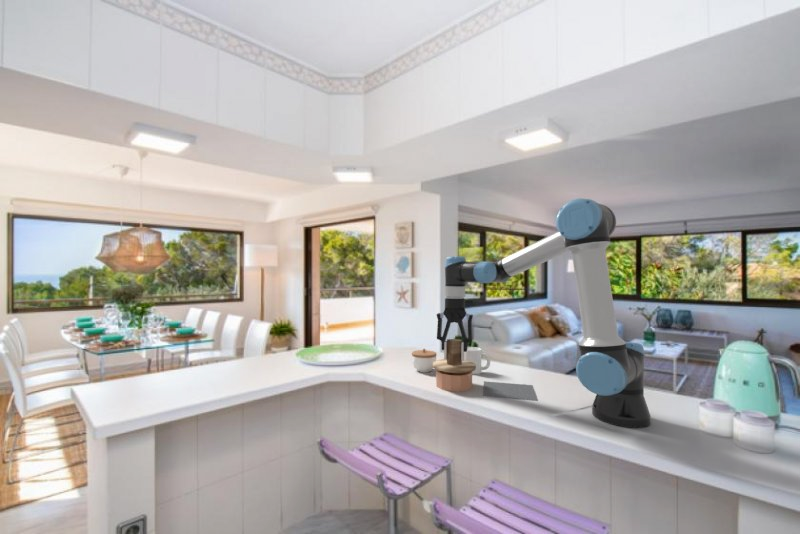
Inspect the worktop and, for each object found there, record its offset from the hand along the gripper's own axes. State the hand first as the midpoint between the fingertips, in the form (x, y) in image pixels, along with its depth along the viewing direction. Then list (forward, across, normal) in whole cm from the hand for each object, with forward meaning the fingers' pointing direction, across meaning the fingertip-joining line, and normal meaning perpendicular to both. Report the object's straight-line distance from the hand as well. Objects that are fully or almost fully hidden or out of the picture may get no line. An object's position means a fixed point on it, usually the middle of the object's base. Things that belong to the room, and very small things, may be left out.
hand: (454, 359), depth 141 cm
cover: (+3, 0, 0) cm, 3 cm away
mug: (+11, -6, -23) cm, 26 cm away
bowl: (+10, 0, 0) cm, 10 cm away
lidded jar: (+11, +16, -19) cm, 27 cm away
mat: (+10, -20, -1) cm, 22 cm away
